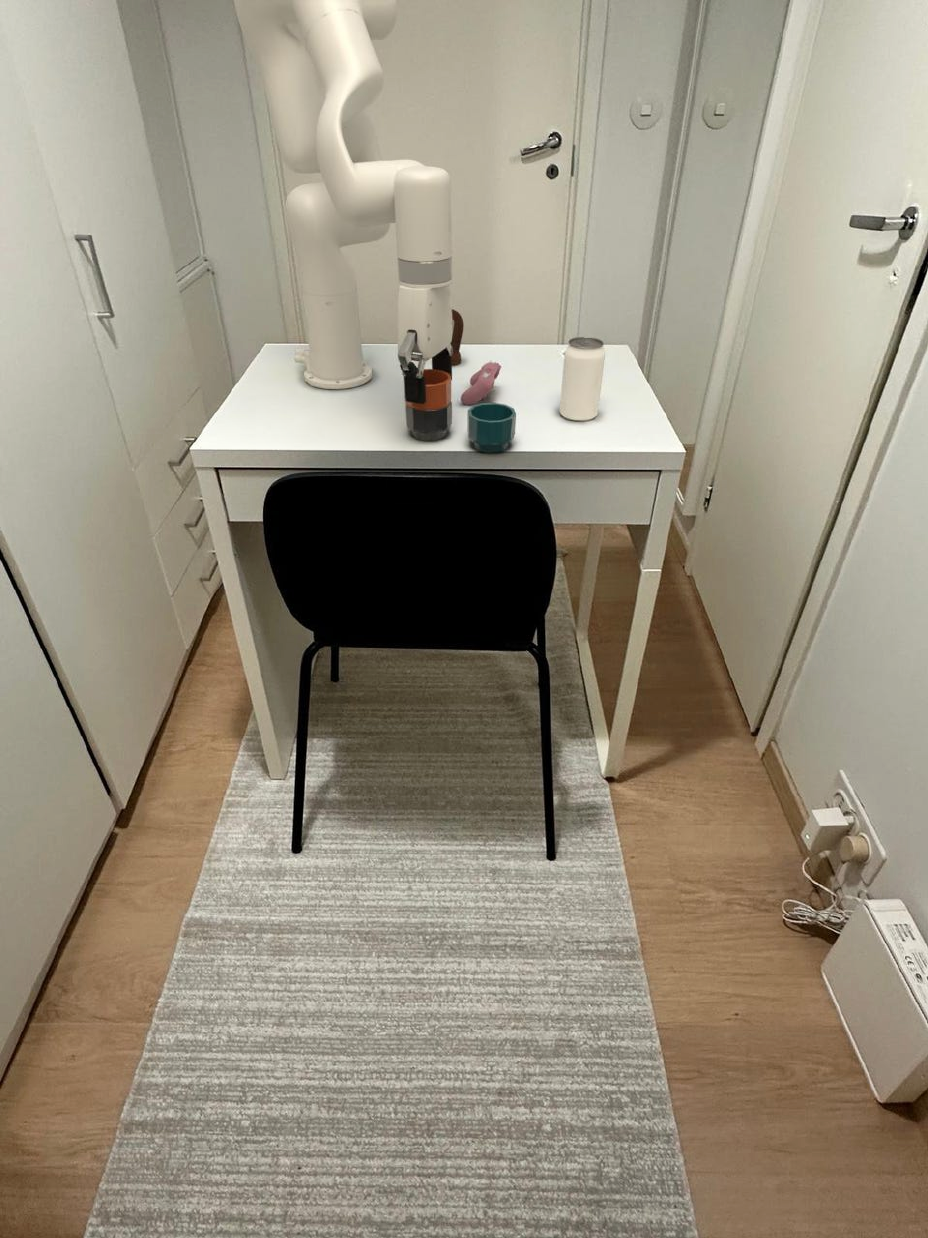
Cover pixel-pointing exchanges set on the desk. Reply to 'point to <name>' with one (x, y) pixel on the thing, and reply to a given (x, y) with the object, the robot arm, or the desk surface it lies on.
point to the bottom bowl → (429, 422)
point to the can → (582, 378)
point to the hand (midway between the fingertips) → (429, 391)
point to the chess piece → (456, 337)
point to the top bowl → (491, 426)
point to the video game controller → (481, 383)
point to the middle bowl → (434, 390)
